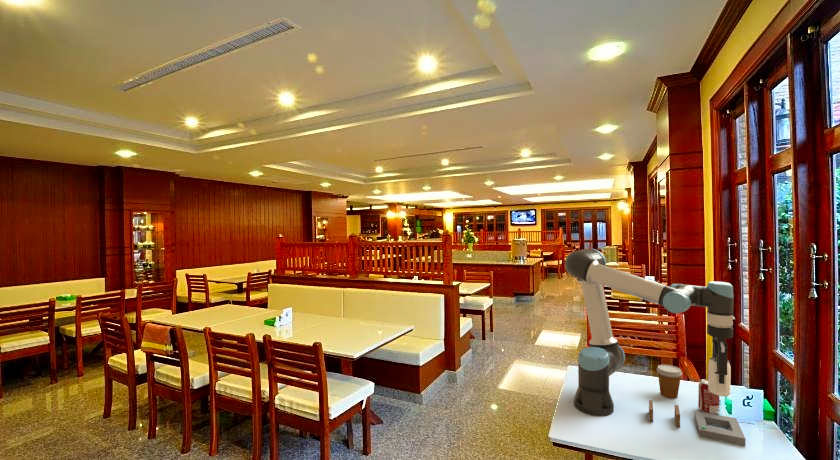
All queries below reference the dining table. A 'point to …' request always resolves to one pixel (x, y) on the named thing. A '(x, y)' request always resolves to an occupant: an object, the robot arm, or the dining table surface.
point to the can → (712, 378)
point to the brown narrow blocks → (677, 413)
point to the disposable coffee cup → (669, 380)
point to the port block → (715, 433)
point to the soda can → (707, 399)
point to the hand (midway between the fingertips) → (719, 387)
